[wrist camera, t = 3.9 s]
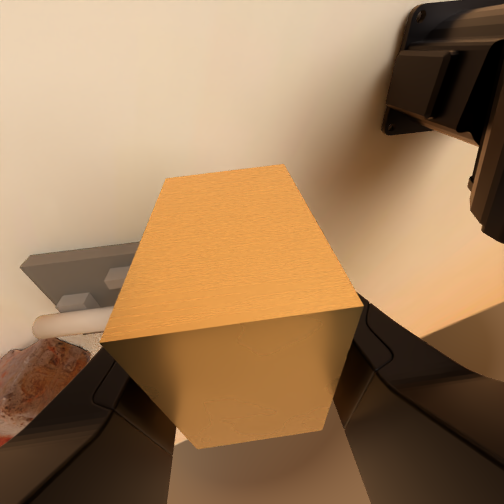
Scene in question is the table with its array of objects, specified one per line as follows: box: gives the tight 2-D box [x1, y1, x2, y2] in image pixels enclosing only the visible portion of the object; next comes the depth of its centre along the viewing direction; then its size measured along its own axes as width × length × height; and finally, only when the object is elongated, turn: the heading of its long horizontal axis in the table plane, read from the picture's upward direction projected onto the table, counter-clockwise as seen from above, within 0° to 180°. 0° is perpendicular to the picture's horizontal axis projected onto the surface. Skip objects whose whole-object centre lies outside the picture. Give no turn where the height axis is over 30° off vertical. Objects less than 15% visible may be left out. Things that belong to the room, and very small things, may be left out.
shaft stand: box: [20, 242, 140, 339], centre depth 23 cm, size 22×10×5 cm, turn 95°
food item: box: [0, 337, 90, 446], centre depth 27 cm, size 14×8×10 cm, turn 123°
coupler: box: [100, 164, 364, 449], centre depth 8 cm, size 6×4×6 cm, turn 5°
